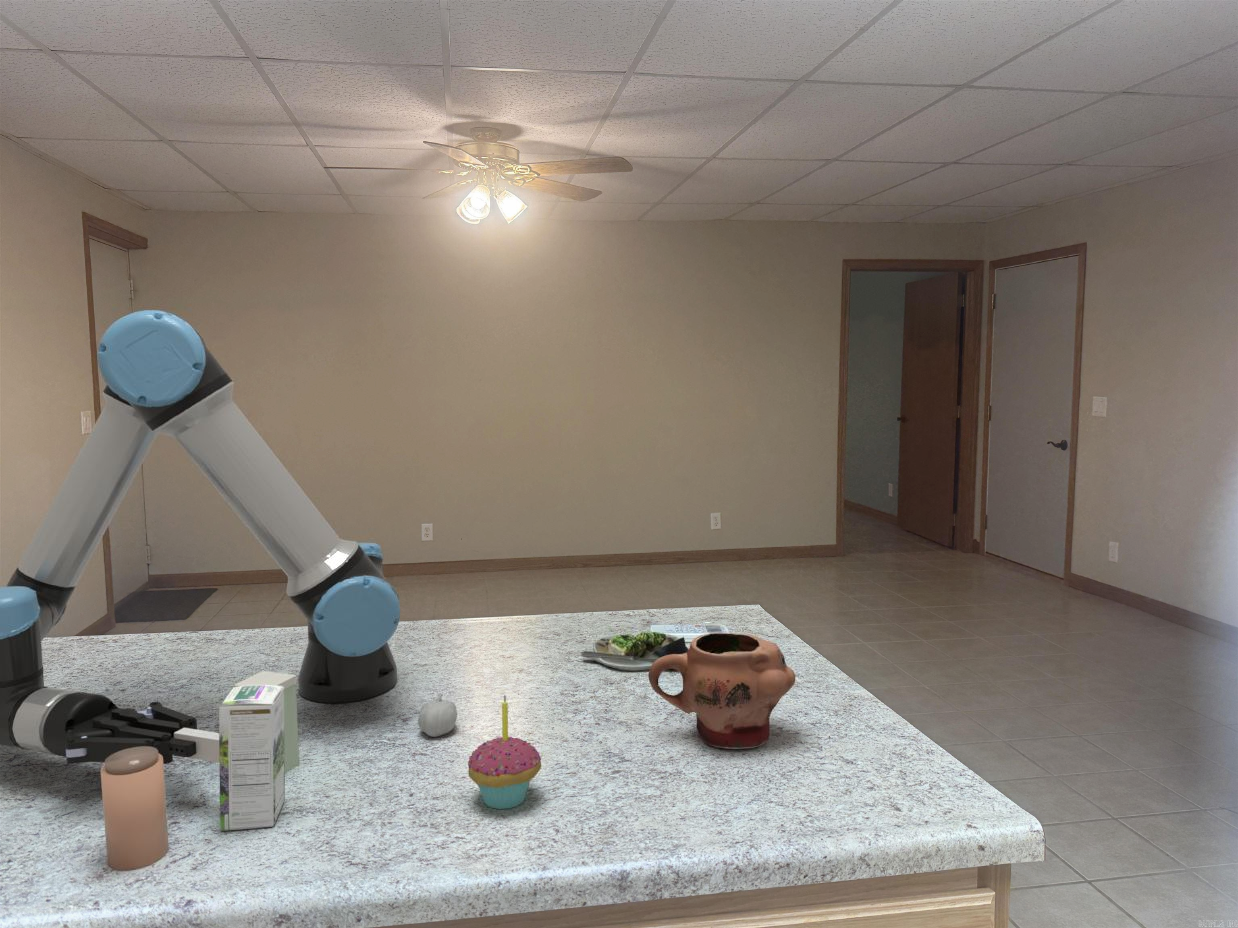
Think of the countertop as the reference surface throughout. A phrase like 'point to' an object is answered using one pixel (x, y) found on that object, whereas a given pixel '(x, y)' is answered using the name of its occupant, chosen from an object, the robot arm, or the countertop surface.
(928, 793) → the countertop surface
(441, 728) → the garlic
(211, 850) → the countertop surface
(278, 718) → the syrup box
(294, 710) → the tea tin
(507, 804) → the cupcake
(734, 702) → the brown clay mug
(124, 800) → the canister
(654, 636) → the salad plate
